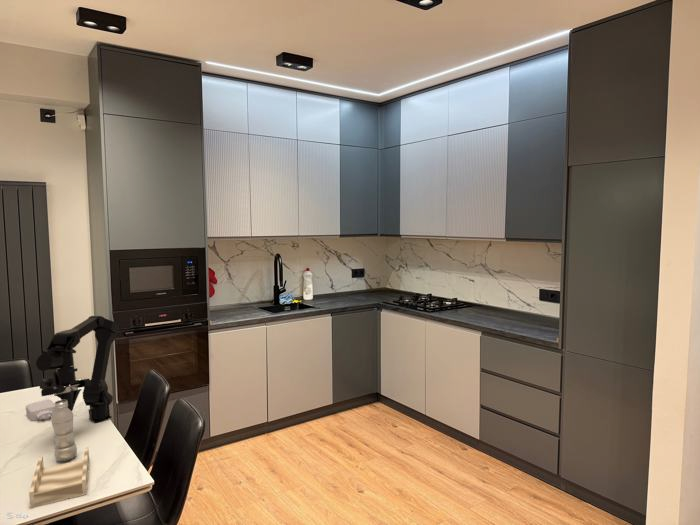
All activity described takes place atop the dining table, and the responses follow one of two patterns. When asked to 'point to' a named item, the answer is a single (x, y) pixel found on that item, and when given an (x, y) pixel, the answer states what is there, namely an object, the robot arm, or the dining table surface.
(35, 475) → the tray
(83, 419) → the dining table surface
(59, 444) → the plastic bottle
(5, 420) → the dining table surface
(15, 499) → the dining table surface
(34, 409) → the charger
